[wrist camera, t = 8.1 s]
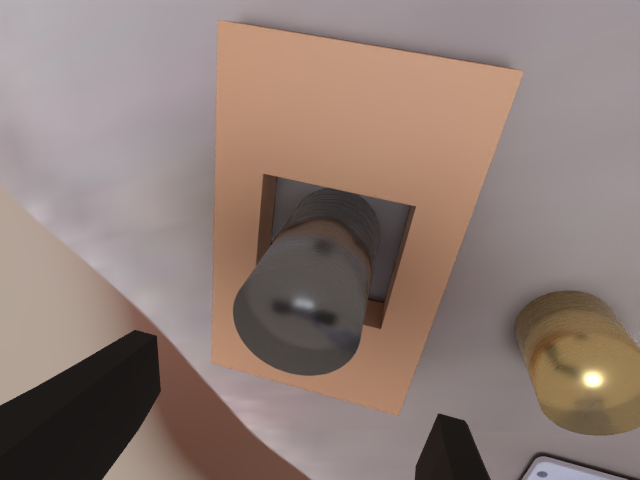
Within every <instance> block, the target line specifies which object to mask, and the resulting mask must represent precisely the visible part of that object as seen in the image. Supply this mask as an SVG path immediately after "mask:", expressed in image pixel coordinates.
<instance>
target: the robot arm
mask: <svg viewBox="0 0 640 480" xmlns="http://www.w3.org/2000/svg"><path fill="white" fill-rule="evenodd" d="M160 391H161V389H160V376H159V362H158V348H157V336H155V335H152V334H148V333H144V332H141V331H137V330H134V331H132V332H131V333H129V334H127V335H125V336H124V337H122V338H120V339H118V340H117V341H115V342H113V343H112V344H110V345H108V346H106V347H105V348H103V349H101V350H100V351H98V352H96V353H95V354H93V355H91V356H89V357H88V358H86V359H84V360H82V361H81V362H79V363H77V364H76V365H74V366H72V367H70V368H69V369H67V370H65V371H63V372H62V373H60V374H58V375H56V376H54V377H53V378H51V379H49V380H47V381H46V382H44V383H42V384H40V385H39V386H37V387H35V388H33V389H31V390H29V391H27V392H25V393H23V394H21V395H20V396H18V397H16V398H14V399H12V400H10V401H8V402H6V403H4V404H2V405H1V406H0V480H102V479H103V478H104V476H105V475H106V473H107V472H108V471H109V469H110V468H111V467H112V465H113V464H114V463H115V461H116V460H117V459H118V457H119V456H120V454H121V453H122V452H123V450H124V449H125V448H126V446H127V445H128V443H129V442H130V441H131V439H132V438H133V436H134V435H135V434H136V432H137V431H138V430H139V428H140V426H141V425H142V423H143V421H144V420H145V418H146V416H147V414H148V413H149V411H150V409H151V408H152V406H153V404H154V402H155V400H156V399H157V397H158V395H159V393H160ZM415 480H491V479H490V477H489V475H488V472H487V470H486V468H485V466H484V463H483V461H482V459H481V456H480V454H479V451H478V449H477V447H476V444H475V442H474V439H473V437H472V434H471V432H470V429H469V427H468V425H467V423H466V422H465V421H464V420H460V419H457V418H453V417H449V416H446V415H442V414H439V413H438V416H437V418H436V420H435V423H434V425H433V427H432V430H431V432H430V434H429V437H428V439H427V441H426V444H425V446H424V448H423V451H422V453H421V455H420V458H419V460H418V462H417V465H416V471H415ZM522 480H628V479H624V478H621V477H617V476H614V475H610V474H607V473H603V472H599V471H596V470H592V469H589V468H585V467H582V466H578V465H574V464H571V463H567V462H564V461H560V460H557V459H553V458H550V457H545V456H542V457H538V458H536V459H535V460H534V462H533V463H532V465H531V466H530V468H529V469H528V471H527V472H526V474H525V475H524V477H523V478H522Z"/></svg>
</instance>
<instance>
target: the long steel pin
mask: <svg viewBox="0 0 640 480" xmlns="http://www.w3.org/2000/svg"><path fill="white" fill-rule="evenodd" d="M378 238H379V224H378V220H377V217H376V215H375V213H374V211H373V209H372V208H371V207H370V205H369V204H368V203H367V202H366V201H365V200H364V199H362V198H361V197H360V196H358V195H356V194H354V193H351V192H347V191H342V190H337V189H333V188H329V189H323V190H319V191H317V192H314V193H312V194H311V195H309V196H308V197H306V198H305V199H304V200H303V201H302V202H301V204H300V205H299V206H298V208H297V209H296V211H295V212H294V213H293V215H292V216H291V218H290V219H289V220H288V222H287V223H286V225H285V226H284V228H283V229H282V230H281V232H280V233H279V235H278V236H277V237H276V239H275V240H274V242H273V243H272V244H271V246H270V247H269V249H268V250H267V251H266V253H265V254H264V256H263V257H262V259H261V260H260V261H259V263H258V264H257V266H256V267H255V268H254V270H253V271H252V273H251V274H250V275H249V277H248V278H247V280H246V281H245V283H244V284H243V285H242V287H241V288H240V290H239V291H238V293H237V295H236V297H235V300H234V304H233V319H234V324H235V327H236V330H237V332H238V334H239V336H240V338H241V340H242V341H243V343H244V344H245V345H246V346H247V348H248V349H249V350H250V351H251V352H252V353H253V354H254V355H255V356H257V357H258V358H259V359H260V360H262V361H263V362H265V363H266V364H268V365H270V366H272V367H274V368H276V369H278V370H281V371H284V372H287V373H290V374H295V375H303V376H316V375H323V374H327V373H330V372H333V371H335V370H337V369H339V368H341V367H343V366H344V365H345V364H347V363H348V362H349V361H350V360H351V359H352V357H353V356H354V355H355V353H356V351H357V349H358V347H359V343H360V340H361V334H362V328H363V323H364V317H365V311H366V306H367V300H368V295H369V289H370V283H371V278H372V272H373V267H374V261H375V255H376V250H377V244H378Z"/></svg>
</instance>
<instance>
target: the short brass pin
mask: <svg viewBox="0 0 640 480" xmlns="http://www.w3.org/2000/svg"><path fill="white" fill-rule="evenodd" d="M515 335H516V338H517V341H518V344H519V347H520V350H521V353H522V356H523V358H524V361H525V364H526V367H527V370H528V373H529V376H530V378H531V381H532V384H533V387H534V390H535V393H536V395H537V398H538V401H539V404H540V407H541V409H542V411H543V413H544V414H545V415H546V416H547V417H548V418H549V419H550V420H551V421H552V422H554V423H555V424H556V425H558V426H560V427H562V428H564V429H566V430H569V431H572V432H575V433H580V434H586V435H613V434H618V433H623V432H627V431H630V430H633V429H635V428H637V427H640V349H639V347H638V346H637V345H636V343H635V342H634V341H633V339H632V338H631V337H630V335H629V334H628V333H627V331H626V330H625V329H624V327H623V326H622V325H621V323H620V322H619V321H618V319H617V318H616V317H615V315H614V314H613V313H612V311H611V310H610V308H609V307H608V306H607V305H606V304H605V303H604V302H603V301H601V300H600V299H598V298H597V297H595V296H592V295H590V294H587V293H583V292H578V291H560V292H554V293H550V294H547V295H544V296H541V297H539V298H537V299H535V300H534V301H532V302H531V303H529V304H528V305H527V306H526V307H525V308H524V309H523V310H522V311H521V312H520V314H519V316H518V317H517V320H516V323H515Z"/></svg>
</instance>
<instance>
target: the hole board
mask: <svg viewBox="0 0 640 480" xmlns="http://www.w3.org/2000/svg"><path fill="white" fill-rule="evenodd" d="M523 73H524V71H521V70H516V69H512V68H507V67H501V66H495V65H489V64H483V63H477V62H471V61H465V60H459V59H454V58H448V57H442V56H436V55H430V54H424V53H418V52H412V51H406V50H400V49H394V48H388V47H382V46H376V45H370V44H364V43H358V42H352V41H346V40H340V39H334V38H328V37H322V36H316V35H310V34H304V33H298V32H292V31H286V30H280V29H274V28H268V27H262V26H256V25H250V24H244V23H237V22H230V21H222V20H218V34H217V91H216V148H215V205H214V262H213V319H212V363H213V364H216V365H220V366H223V367H227V368H230V369H234V370H237V371H241V372H245V373H248V374H252V375H255V376H259V377H262V378H266V379H270V380H273V381H277V382H280V383H284V384H287V385H291V386H295V387H298V388H302V389H305V390H309V391H312V392H316V393H319V394H323V395H327V396H330V397H334V398H337V399H341V400H344V401H348V402H352V403H355V404H359V405H362V406H366V407H369V408H373V409H376V410H380V411H384V412H387V413H391V414H394V415H398V416H399V414H400V411H401V409H402V406H403V403H404V400H405V398H406V395H407V392H408V389H409V386H410V384H411V381H412V378H413V375H414V373H415V370H416V367H417V364H418V362H419V359H420V356H421V353H422V351H423V348H424V345H425V342H426V340H427V337H428V334H429V331H430V329H431V326H432V323H433V320H434V318H435V315H436V312H437V309H438V307H439V304H440V301H441V298H442V296H443V293H444V290H445V287H446V285H447V282H448V279H449V276H450V274H451V271H452V268H453V265H454V263H455V260H456V257H457V254H458V252H459V249H460V246H461V243H462V241H463V238H464V235H465V232H466V230H467V227H468V224H469V221H470V219H471V216H472V213H473V210H474V208H475V205H476V202H477V199H478V197H479V194H480V191H481V188H482V186H483V183H484V180H485V177H486V175H487V172H488V169H489V166H490V164H491V161H492V158H493V155H494V153H495V150H496V147H497V144H498V142H499V139H500V136H501V133H502V131H503V128H504V125H505V122H506V120H507V117H508V114H509V111H510V109H511V106H512V103H513V100H514V98H515V95H516V92H517V89H518V87H519V84H520V81H521V78H522V76H523ZM277 177H282V178H286V179H291V180H295V181H300V182H305V183H309V184H314V185H319V186H323V187H328V188H333V189H337V190H342V191H347V192H351V193H356V194H361V195H365V196H370V197H375V198H379V199H384V200H389V201H393V202H398V203H403V204H407V205H411V209H410V212H409V216H408V219H407V223H406V226H405V230H404V234H403V237H402V241H401V244H400V248H399V252H398V255H397V259H396V262H395V266H394V270H393V273H392V277H391V280H390V284H389V287H388V291H387V295H386V298H385V302H384V303H381V302H377V301H373V300H369V299H368V300H367V306H366V311H365V317H364V323H363V328H362V334H361V340H360V343H359V347H358V349H357V351H356V353H355V355H354V356H353V357H352V359H351V360H350V361H349V362H348V363H347V364H345V365H344V366H343V367H341V368H339V369H337V370H335V371H333V372H330V373H327V374H323V375H316V376H303V375H295V374H290V373H287V372H284V371H281V370H278V369H276V368H274V367H272V366H270V365H268V364H266V363H265V362H263V361H262V360H260V359H259V358H258V357H257V356H255V355H254V354H253V353H252V352H251V351H250V350H249V349H248V348H247V346H246V345H245V344H244V343H243V341H242V340H241V338H240V336H239V334H238V332H237V330H236V327H235V324H234V319H233V304H234V300H235V297H236V295H237V293H238V291H239V290H240V288H241V287H242V285H243V284H244V283H245V281H246V280H247V278H248V277H249V275H250V274H251V273H252V271H253V270H254V268H255V267H256V266H257V264H258V263H259V261H260V260H261V259H262V257H263V256H264V254H265V253H266V251H267V250H268V249H269V247H270V244H271V234H272V223H273V213H274V203H275V192H276V182H277Z"/></svg>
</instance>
